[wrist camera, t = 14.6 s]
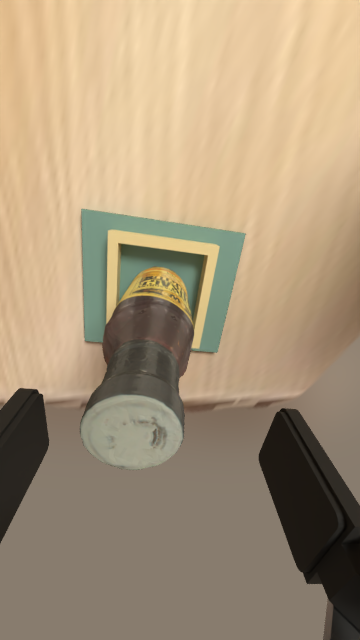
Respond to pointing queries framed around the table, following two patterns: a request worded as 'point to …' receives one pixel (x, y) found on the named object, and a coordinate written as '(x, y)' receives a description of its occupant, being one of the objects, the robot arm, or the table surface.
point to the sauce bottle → (142, 375)
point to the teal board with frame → (162, 251)
